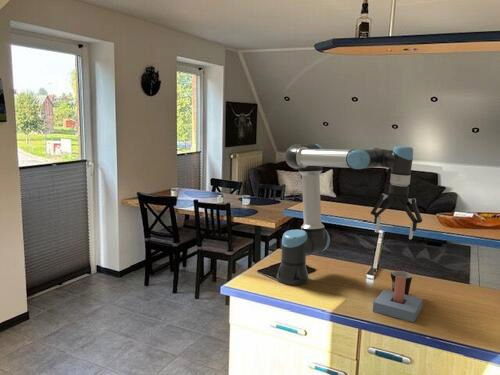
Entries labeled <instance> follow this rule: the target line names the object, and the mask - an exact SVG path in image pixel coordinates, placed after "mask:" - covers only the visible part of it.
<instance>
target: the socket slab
mask: <svg viewBox="0 0 500 375" xmlns="http://www.w3.org/2000/svg"><path fill="white" fill-rule="evenodd" d="M393 299H394V292H393V291H392V290H388V289H385V288H384V289H383V290H382V291H381V293H379V295H378V296H377V297H376V298H375V300H373V302H372V312H374V313H377V314H381V315H385V316H387V317H388V316H389V317H392V318H397V319H399V320H403V321H406V322H411V323H415V321H416V319H417V317H418V316H419V314H420V312H421V310H422V308H423V303H424V302H423V300H424V298H421V297H417V296H413V295H409V294H408V295H406V294H404V303H403V304H400V303H396V302H393Z"/></svg>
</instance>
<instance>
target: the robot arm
mask: <svg viewBox="0 0 500 375" xmlns="http://www.w3.org/2000/svg"><path fill="white" fill-rule="evenodd" d="M284 159H285V162H286V164H287V165H288V166H289V167H290V168H292V169H296V170H298V173H299V174H300V175H301V189H302V192H301V193H302V211H303V216H302V217H303V224H302V225H301V226H300V229H290V230H286V231H285V232H284V233H283V234H282V238H281V239H282V240H281V253H280V254H281V256H280V257H281V259H280V260H281V262H280V265H279V266H278V270H277V273H276V280H277V279H278V280H277V281H278V282H279V281H280V283H281V284H284V285H290V286H300V285H301V286H302V285H305V284H307V283H308V282H309V273H308V270H307V266H306V263H307V262H306V261H307V260H306V259H307V257H308V256H312V255H315V254H320V253H321V252H324V251H325V250H326V249H328V248H329V245H330V243H331V242H330V241H331V238H330V234H329V232H328V231H327V230H326V229H325V228H326V227H325V225H324V224H323V223H322V210H321V209H322V206H321V205H322V204H321V182H320V181H321V180H320V179H321V178H320V174H322V172H323V167H328V168H344V169H345V168H350V169H353V170H354V169H355V170H363V169H371V168H373V169H374V168H385V169H390V180H389V183H390V184H389V187H388V188H389V189H388V195H387V194H386V193H381V194H380V196H379V199H378V200H377V202H376V204H375V205H374V207H373V208H372V210H371V211H370V215H373V216H374V221H373V223H374V225H375V233H379V232H380V226H381V216H380V215H381V214H382V213H384V212H385V210H387V209H388V208H389V207H390V206H392V207H393V208H398V209H401V208H402V209H403V211H404V212H405V213H406V214H407V216H408V218H409V219H410V220H411V223H410V226H409V228H410V229H409V234H408V235H409V236H408V239H409V240H412V239H413V236H414V232H416V231H417V226H418V224H420V223H422V222H423V218H422V216H421V214H420V210H419V208H418V205H417V198H415V197H414V198H409V194H410V193H409V191H410V186H409V185H410V184H411V176H412V175H411V174H412V173H411V172H412V165H413V159H414V149H413V147H411V146H403V145H395V146H394V147H393V149H385V148H384V149H383V148H379V147H377V148H376V147H370V148H368V149H345V148H343V149H337V148H336V149H333V148H332V149H330V148H329V149H328V148H324V147H322V146H321V144H316V143H302V144H300V143H295V144H292V145H291V146H289V147H288V148H287V149H286V151H285V154H284ZM386 199H387V201H388V202H387V203H386V204H385V205H384V206H382V207H381V208H380V206H381V204H382V203H383V202H384V201H385V200H386ZM408 202H409V203H410V205H411V208H412V210H413V212H412V211H411V209H410V208H409V206H408V204H407V203H408ZM379 208H380V209H379ZM378 209H379V210H378ZM377 210H378V211H377Z"/></svg>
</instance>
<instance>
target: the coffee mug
mask: <svg viewBox="0 0 500 375" xmlns="http://www.w3.org/2000/svg"><path fill="white" fill-rule="evenodd" d="M398 275H400V276H404V277H406V283H405V293H404V294H406V295H409V292H410V288H411V283H412V280H413V275H412V274H411V273H409V272H407V271H403V270H393V271H392V272H390V278H391V288H392V290H391V291H393V292H394V288H395V277H396V276H398Z"/></svg>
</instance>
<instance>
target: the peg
mask: <svg viewBox="0 0 500 375" xmlns="http://www.w3.org/2000/svg"><path fill="white" fill-rule="evenodd" d="M405 283H406V277H404V276H400V275H398V276H396V277H395V288H394V299H393V302H396V303H400V304H403V303H404V293H405Z"/></svg>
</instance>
